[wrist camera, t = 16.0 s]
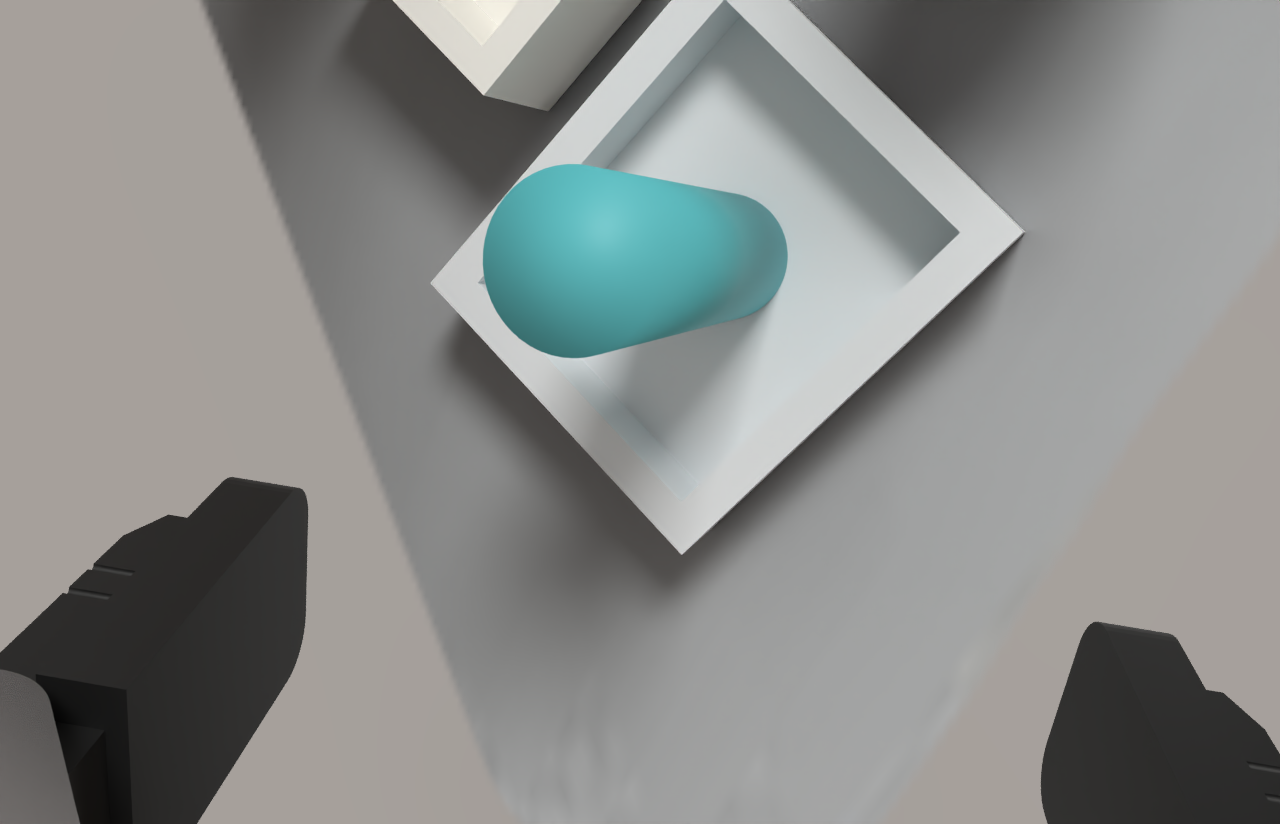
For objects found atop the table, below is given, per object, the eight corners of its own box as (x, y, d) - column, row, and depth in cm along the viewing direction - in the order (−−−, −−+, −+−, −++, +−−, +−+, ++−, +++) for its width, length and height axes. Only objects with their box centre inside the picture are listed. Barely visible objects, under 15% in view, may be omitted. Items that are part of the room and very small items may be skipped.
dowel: (640, 259, 39) (447, 266, 26) (723, 166, 38) (565, 122, 24) (727, 345, 38) (576, 397, 25) (814, 254, 37) (703, 257, 24)
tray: (477, 279, 42) (430, 283, 39) (752, -37, 38) (724, -63, 34) (710, 529, 41) (681, 554, 37) (1025, 231, 36) (1023, 232, 33)
